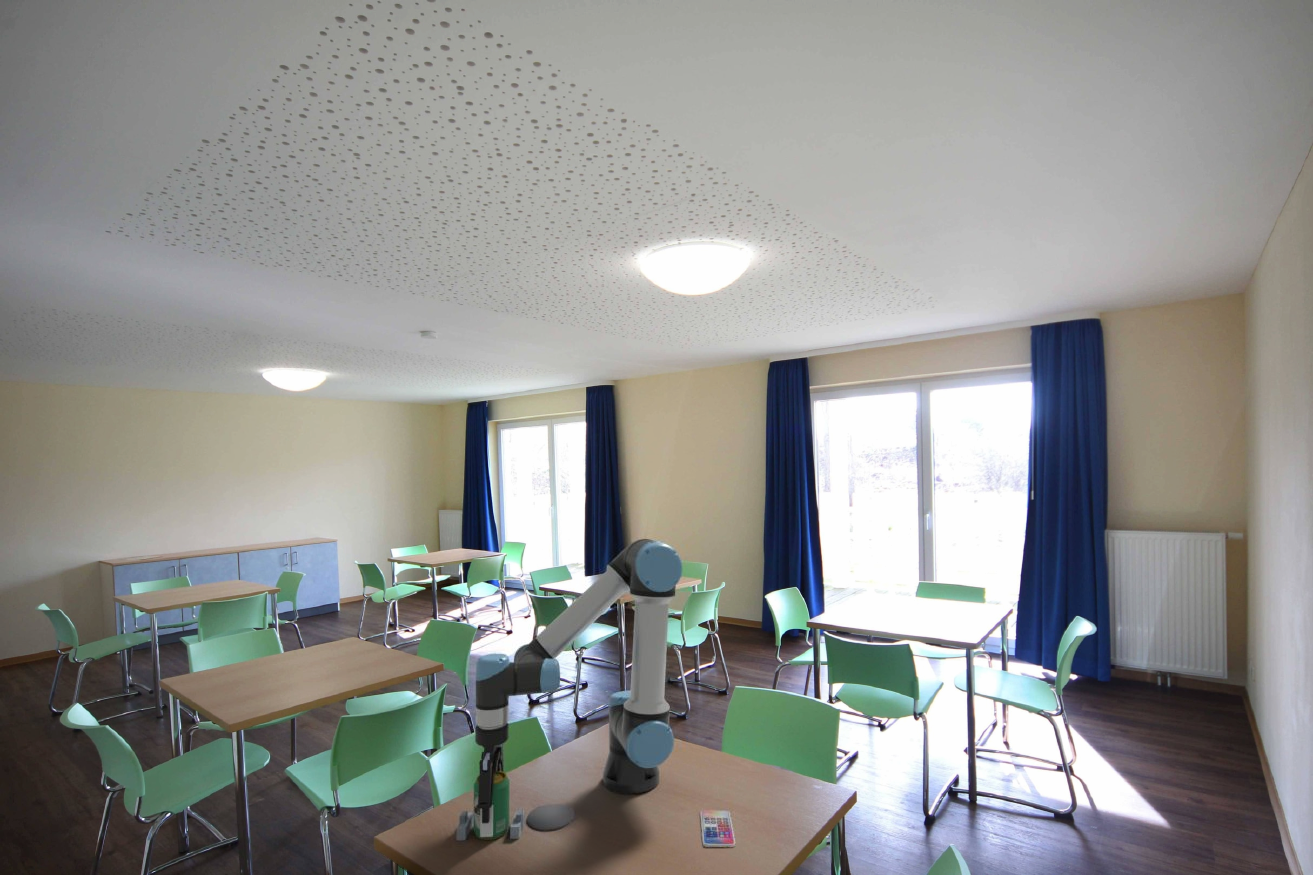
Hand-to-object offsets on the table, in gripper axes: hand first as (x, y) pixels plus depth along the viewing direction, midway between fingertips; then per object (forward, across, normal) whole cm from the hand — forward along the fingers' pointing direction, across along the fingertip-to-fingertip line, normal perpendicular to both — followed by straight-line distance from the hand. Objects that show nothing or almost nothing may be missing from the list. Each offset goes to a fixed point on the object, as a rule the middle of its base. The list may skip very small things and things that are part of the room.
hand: (491, 824), depth 146 cm
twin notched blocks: (+1, 0, 0) cm, 1 cm away
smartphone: (+2, +2, +52) cm, 52 cm away
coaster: (+1, -5, +13) cm, 14 cm away
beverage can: (+2, 0, 0) cm, 2 cm away
